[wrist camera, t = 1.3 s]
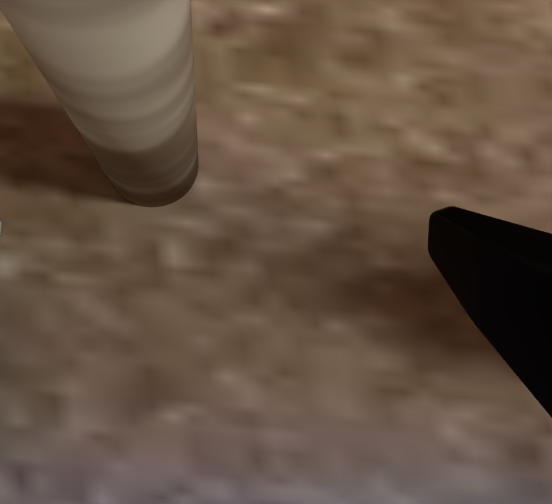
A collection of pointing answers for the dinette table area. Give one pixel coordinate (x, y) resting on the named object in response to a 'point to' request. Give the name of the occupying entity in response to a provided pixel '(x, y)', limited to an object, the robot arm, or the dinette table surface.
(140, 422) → the dinette table surface
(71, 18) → the birch peg
